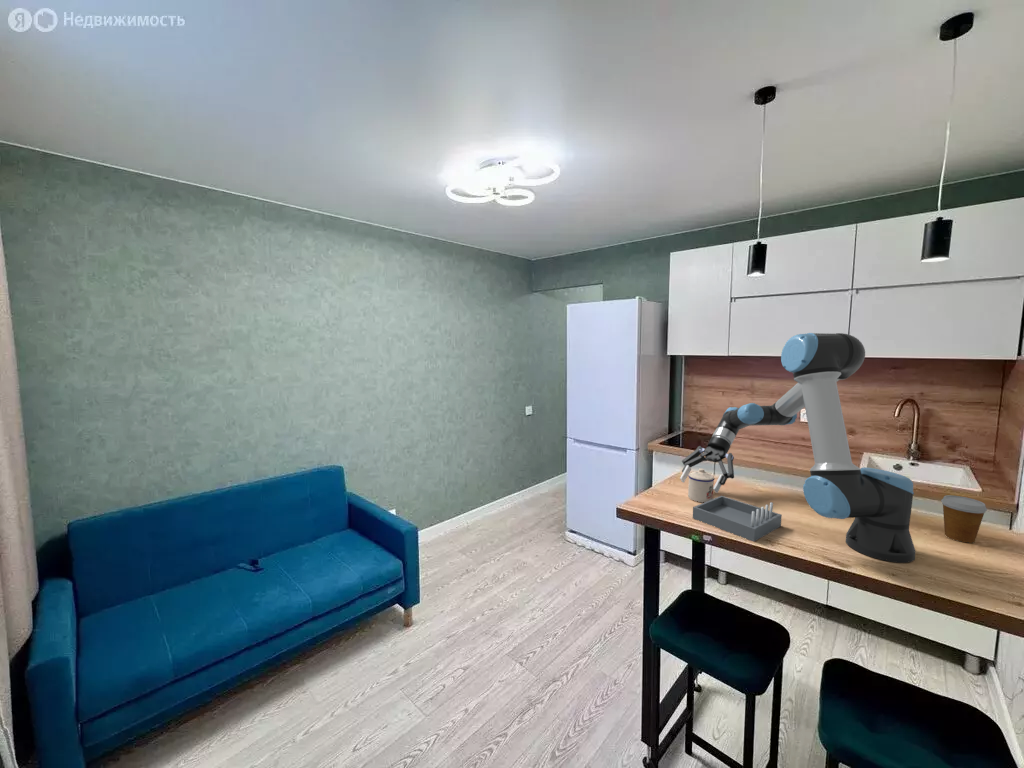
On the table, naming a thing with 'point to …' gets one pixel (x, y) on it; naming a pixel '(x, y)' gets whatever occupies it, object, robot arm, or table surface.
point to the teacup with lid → (700, 486)
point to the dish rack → (738, 517)
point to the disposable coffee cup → (962, 517)
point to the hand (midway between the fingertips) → (697, 485)
